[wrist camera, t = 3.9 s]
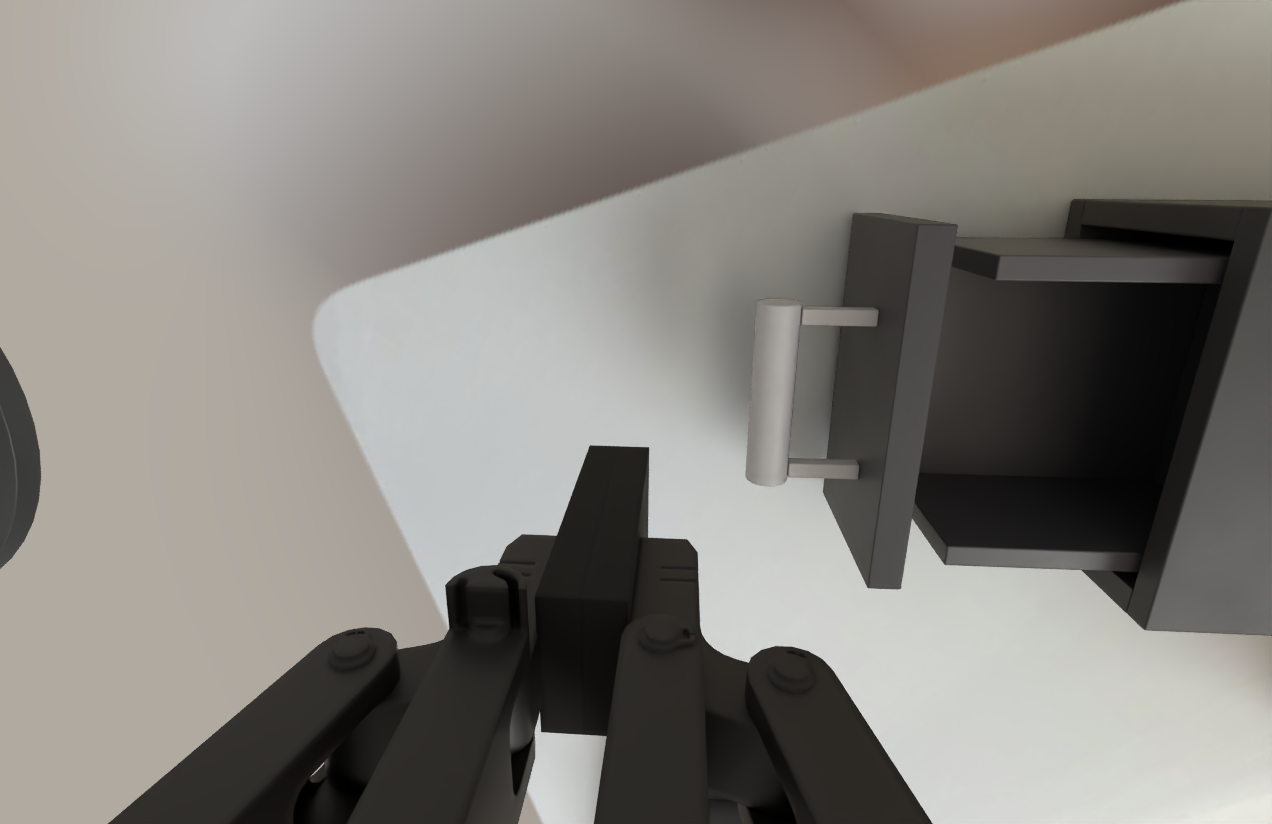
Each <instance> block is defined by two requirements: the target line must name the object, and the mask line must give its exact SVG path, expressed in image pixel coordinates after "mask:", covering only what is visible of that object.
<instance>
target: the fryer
mask: <svg viewBox="0 0 1272 824" xmlns="http://www.w3.org/2000/svg"><path fill="white" fill-rule="evenodd" d="M1064 239H1154V240H1226V241H1234V244H1233V248H1232V251H1231V255H1230V258H1229V262H1228V265H1227V269H1226V272H1225V276H1224V279H1223V283H1222V286H1221V289H1220V293H1219V296H1218V300H1217V303H1216V307H1215V310H1214V314H1213V317H1212V321H1211V324H1210V327H1209V331H1208V334H1207V338H1206V341H1205V345H1204V348H1203V352H1202V355H1201V359H1200V362H1199V366H1198V369H1197V372H1196V376H1195V379H1194V383H1193V386H1192V390H1191V393H1190V397H1189V400H1188V404H1187V407H1186V410H1185V414H1184V417H1183V421H1182V424H1181V428H1180V431H1179V435H1178V438H1177V442H1176V445H1175V449H1174V452H1173V455H1172V459H1171V462H1170V466H1169V469H1168V473H1167V476H1166V480H1165V483H1164V487H1163V490H1162V494H1161V497H1160V500H1159V504H1158V507H1157V511H1156V514H1155V518H1154V521H1153V525H1152V528H1151V532H1150V535H1149V538H1148V542H1147V545H1146V549H1145V552H1144V556H1143V559H1142V563H1141V566H1140V570H1139V572H1123V571H1096V570H1082V571H1083V572H1084V573H1085V574H1086V575H1087V576H1088V577H1089V578H1090V579H1091V580H1092V581H1093V582H1094V583H1096V584H1097V585H1098V586H1099V587H1100V588H1101V589H1102V590H1103V591H1104V592H1105V593H1106V594H1107V595H1108V596H1109V597H1110V598H1111V599H1112V600H1113V601H1114V602H1115V603H1116V604H1117V605H1118V606H1119V607H1121V608H1122V609H1123V610H1124V611H1125V612H1126V613H1127V614H1128V615H1129V616H1130V617H1131V618H1132V619H1133V620H1134V621H1135V622H1136V623H1138V624H1139V625H1140V626H1141V627H1142V628H1143V629H1144V630H1152V631H1176V632H1200V633H1223V634H1247V635H1271V636H1272V201H1245V200H1118V199H1074V200H1073V201H1072V205H1071V209H1070V214H1069V219H1068V224H1067V229H1066V233H1065V238H1064Z"/></svg>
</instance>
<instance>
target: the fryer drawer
mask: <svg viewBox="0 0 1272 824" xmlns="http://www.w3.org/2000/svg"><path fill="white" fill-rule="evenodd" d="M957 227H958V225H956V224H950V223H943V222H937V221H930V220H923V219H916V218H910V217H903V216H896V215H889V214H883V213H853V217H852V227H851V236H850V245H849V255H848V264H847V273H846V283H845V292H844V301H843V307H811V306H802V304H801V302H799V301H796V300H791V299H781V298H769V299H761V300H759V301H757V306H756V322H755V337H754V352H753V368H752V383H751V398H750V414H749V429H748V444H747V460H746V478H747V480H748V481H750V482H751V483H754V484H756V485H760V486H778V485H781V484H783V483H785V481H786V480H787V475H788V477H797V478H824V487H823V493H824V495H825V498H826V500H827V502H828V504H829V506H830V508H831V510H832V513H833V515H834V517H835V519H836V521H837V523H838V525H839V528H840V530H841V532H842V534H843V536H844V538H845V540H846V543H847V545H848V547H849V549H850V551H851V553H852V555H853V558H854V560H855V562H856V564H857V566H858V568H859V570H860V573H861V575H862V577H863V579H864V581H865V583H866V585H867V588H877V589H901V583H902V577H903V571H904V564H905V558H906V552H907V545H908V539H909V533H910V526H911V520H912V519H913V520H914V522H915V523H916V525H917V526H918V527H919V529H920V530H921V532H922V533H923V535H924V536H925V537H926V539H927V540H928V542H929V543H930V545H931V546H932V548H933V549H934V550H935V552H936V553H937V555H938V556H939V558H940V559H941V560H942V562H943V563H944V564H945V565H963V566H990V567H1016V568H1043V569H1070V570H1096V571H1123V572H1139V570H1140V566H1141V563H1142V559H1143V556H1144V552H1145V549H1146V545H1147V542H1148V538H1149V535H1150V532H1151V528H1152V525H1153V521H1154V518H1155V514H1156V511H1157V507H1158V504H1159V500H1160V497H1161V494H1162V490H1163V487H1164V483H1165V480H1166V476H1167V473H1168V469H1169V466H1170V462H1171V459H1172V455H1173V452H1174V449H1175V445H1176V442H1177V438H1178V435H1179V431H1180V428H1181V424H1182V421H1183V417H1184V414H1185V410H1186V407H1187V404H1188V400H1189V397H1190V393H1191V390H1192V386H1193V383H1194V379H1195V376H1196V372H1197V369H1198V366H1199V362H1200V359H1201V355H1202V352H1203V348H1204V345H1205V341H1206V338H1207V334H1208V331H1209V327H1210V324H1211V321H1212V317H1213V314H1214V310H1215V307H1216V303H1217V300H1218V296H1219V293H1220V289H1221V286H1222V283H1223V279H1224V276H1225V272H1226V269H1227V265H1228V262H1229V258H1230V255H1231V251H1232V248H1233V244H1234V241H1226V240H1154V239H1063V238H973V237H956V234H957ZM800 324H801V325H817V326H841V329H840V338H839V348H838V357H837V366H836V376H835V385H834V394H833V404H832V413H831V422H830V431H829V441H828V450H827V459H803V458H788V457H789V446H790V435H791V423H792V412H793V400H794V389H795V377H796V366H797V354H798V343H799V331H800Z"/></svg>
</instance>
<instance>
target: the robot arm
mask: <svg viewBox="0 0 1272 824" xmlns="http://www.w3.org/2000/svg"><path fill="white" fill-rule="evenodd" d="M648 488H649V447H619V446H590V447H589V449H588V452H587V455H586V458H585V460H584V463H583V466H582V469H581V471H580V474H579V477H578V480H577V482H576V485H575V488H574V490H573V493H572V496H571V499H570V501H569V504H568V507H567V510H566V512H565V515H564V518H563V521H562V523H561V526H560V529H559V532H558V534H557V536H548V535H524V534H522V535H521V536H520V537H518V538H517V539H516V540H515V541H513V542H512V543H511V544H509V545H508V546H507V547H506V549H505V551H504V553H503V555H502V557H501V559H500V563H498V565H491V566H480V567H476V568H472V569H468V570H465V571H463V572H462V573H460V574H458V575H456V576H454V577H453V578H452V579H451V580H450V581H449V582H448V583H447V584H446V585H445V587H446V598H447V608H448V618H449V628H450V629H449V630H448V632H447V634H446V636H445V638H444V640H441V641H439V642H436V643H431V644H427V645H422V646H416V647H411V648H404V649H398V648H397V642H396V640H395V639H394V637H393V636H392V634H391V633H389V632H387V631H384V630H382V629H378V628H366V627H365V628H358V629H352V630H347V631H345V632H342V633H339V634H337V635H334V636H332V637H330V638H329V639H327V640H326V641H324V642H322V643H321V644H319V645H318V646H317V647H316V648H315V649H313V650H312V651H311V652H310V653H309V654H307V655H306V656H305V657H304V658H303V659H301V660H300V661H299V662H298V663H297V664H296V665H295V666H293V667H292V668H291V669H290V670H289V671H287V672H286V673H285V674H284V675H283V676H281V677H280V678H279V679H278V680H277V681H276V682H274V683H273V684H272V685H271V686H270V687H268V688H267V689H266V690H265V691H264V692H263V693H261V694H260V695H259V696H258V697H257V698H256V699H254V700H253V701H252V702H251V703H250V704H248V705H247V706H246V707H245V708H244V709H243V710H241V711H240V712H239V713H238V714H237V715H236V716H234V717H233V718H232V719H231V720H230V721H229V722H227V723H226V724H225V725H224V726H223V727H221V728H220V729H219V730H218V731H217V732H215V733H214V734H213V735H212V736H211V737H210V738H208V739H207V740H206V741H205V742H204V743H202V744H201V745H200V746H199V747H198V748H197V749H196V750H194V751H193V752H192V753H191V754H190V755H188V756H187V757H186V758H185V759H184V760H183V761H181V762H180V763H179V764H178V765H177V766H176V767H174V768H173V769H172V770H171V771H170V772H168V773H167V774H166V775H165V776H164V777H162V778H161V779H160V780H159V781H158V782H157V783H155V784H154V785H153V786H152V787H151V788H150V789H148V790H147V791H146V792H145V793H144V794H143V795H141V796H140V797H139V798H138V799H137V800H135V801H134V802H133V803H132V804H131V805H130V806H128V807H127V808H126V809H125V810H124V811H122V812H121V813H120V814H119V815H118V816H117V817H115V818H114V819H113V820H112V821H111V822H109V823H108V824H518V821H519V817H520V814H521V810H522V806H523V802H524V798H525V794H526V790H527V787H528V783H529V779H530V775H531V771H532V767H533V763H534V759H535V732H534V731H535V727H536V724H537V720H538V716H539V713H540V717H541V732H549V733H566V734H582V735H599V736H607V738H606V745H605V752H604V758H603V765H602V772H601V779H600V786H599V793H598V800H597V806H596V813H595V820H594V824H709V813H708V792H710V793H713V794H716V795H718V796H721V797H724V798H726V799H729V800H732V801H734V802H737V803H738V808H739V814H740V817H741V820H742V823H743V824H932V822H931V821H930V819H929V817H928V816H927V814H926V813H925V811H924V810H923V808H922V807H921V805H920V804H919V802H918V801H917V799H916V797H915V796H914V794H913V793H912V791H911V790H910V788H909V787H908V785H907V784H906V782H905V781H904V779H903V777H902V776H901V774H900V773H899V771H898V770H897V768H896V767H895V765H894V764H893V762H892V761H891V759H890V757H889V756H888V754H887V753H886V751H885V750H884V748H883V747H882V745H881V744H880V742H879V741H878V739H877V737H876V736H875V734H874V733H873V731H872V730H871V728H870V727H869V725H868V724H867V722H866V721H865V719H864V717H863V716H862V714H861V713H860V711H859V710H858V708H857V707H856V705H855V704H854V702H853V701H852V699H851V697H850V696H849V694H848V693H847V691H846V690H845V688H844V687H843V685H842V684H841V682H840V681H839V679H838V677H837V676H836V674H835V673H834V671H833V670H832V669H831V668H830V667H829V666H828V665H827V664H826V662H825V661H824V660H823V659H821V658H819V657H818V656H816V655H814V654H812V653H810V652H809V651H806V650H802V649H798V648H795V647H783V646H775V647H771V648H767V649H763V650H761V651H759V652H758V653H757V654H755V655H754V656H753V657H751V660H750V662H749V663H747V662H744V661H740V660H737V659H734V658H731V657H729V656H726V655H724V654H722V653H720V652H719V651H717V650H715V649H714V648H713V647H712V646H710V645H709V644H708V643H707V642H706V640H705V639H704V637H703V635H702V633H701V629H700V612H699V582H698V553H697V551H696V550H695V549H694V547H693V546H692V545H691V544H690V542H689V541H688V540H687V539H664V538H648ZM323 762H324V765H323V766H322V767H321V768H320V769H319V770H318V771H317V772H316V773H315V774H314V775H312V774H313V773H314V772H315V771H316V770H317V769H318V768H319V767H320V766H321V764H322V763H323ZM311 775H312V776H311ZM310 776H311V777H310ZM309 777H310V778H309Z"/></svg>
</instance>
